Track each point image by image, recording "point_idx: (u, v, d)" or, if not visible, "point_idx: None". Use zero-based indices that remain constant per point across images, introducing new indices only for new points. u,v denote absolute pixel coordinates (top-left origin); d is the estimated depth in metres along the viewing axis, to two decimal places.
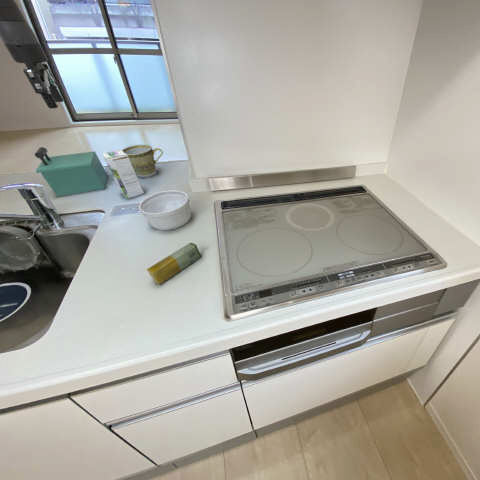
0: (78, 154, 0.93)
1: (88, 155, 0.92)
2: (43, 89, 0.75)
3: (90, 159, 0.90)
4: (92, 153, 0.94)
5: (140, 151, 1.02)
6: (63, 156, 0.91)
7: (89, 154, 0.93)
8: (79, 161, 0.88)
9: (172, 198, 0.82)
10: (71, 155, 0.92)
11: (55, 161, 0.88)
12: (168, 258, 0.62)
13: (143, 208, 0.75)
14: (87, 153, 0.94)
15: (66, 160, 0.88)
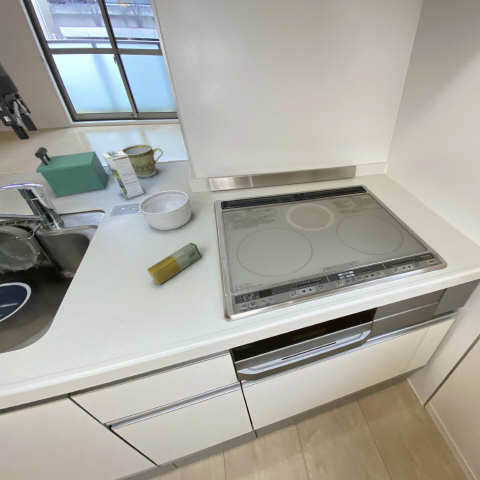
0: (78, 154, 0.93)
1: (88, 155, 0.92)
2: (12, 122, 0.73)
3: (90, 159, 0.90)
4: (92, 153, 0.94)
5: (140, 151, 1.02)
6: (63, 156, 0.91)
7: (89, 154, 0.93)
8: (79, 161, 0.88)
9: (172, 198, 0.82)
10: (71, 155, 0.92)
11: (55, 161, 0.88)
12: (168, 258, 0.62)
13: (143, 208, 0.75)
14: (87, 153, 0.94)
15: (66, 160, 0.88)
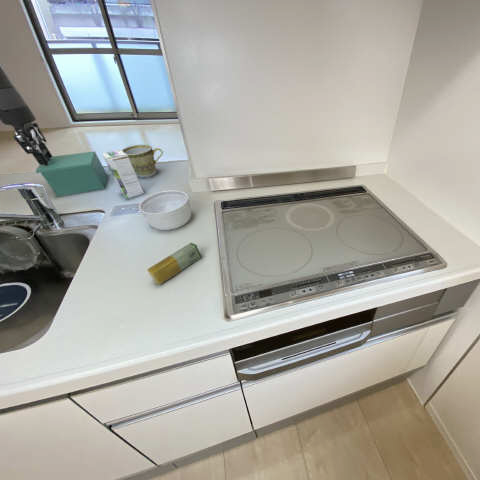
0: (78, 154, 0.93)
1: (88, 155, 0.92)
2: (34, 150, 0.79)
3: (90, 159, 0.90)
4: (92, 153, 0.94)
5: (140, 151, 1.02)
6: (63, 156, 0.91)
7: (89, 154, 0.93)
8: (79, 161, 0.88)
9: (172, 198, 0.82)
10: (71, 155, 0.92)
11: (55, 161, 0.88)
12: (168, 258, 0.62)
13: (143, 208, 0.75)
14: (87, 153, 0.94)
15: (66, 160, 0.88)
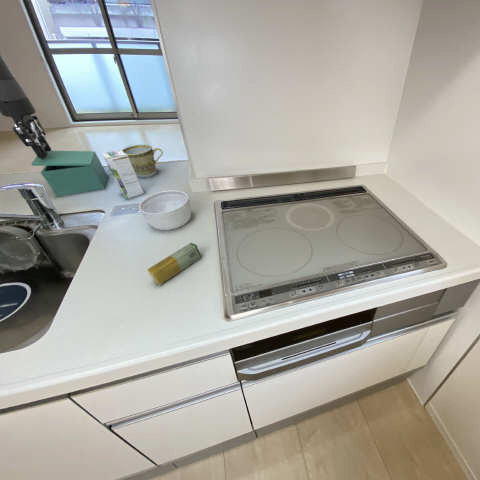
0: (77, 152, 0.92)
1: (88, 155, 0.92)
2: (33, 143, 0.78)
3: (90, 159, 0.90)
4: (92, 153, 0.94)
5: (140, 151, 1.02)
6: (61, 152, 0.90)
7: (89, 153, 0.93)
8: (79, 159, 0.88)
9: (172, 198, 0.82)
10: (69, 152, 0.91)
11: (53, 156, 0.87)
12: (168, 258, 0.62)
13: (143, 208, 0.75)
14: (87, 152, 0.94)
15: (64, 157, 0.88)
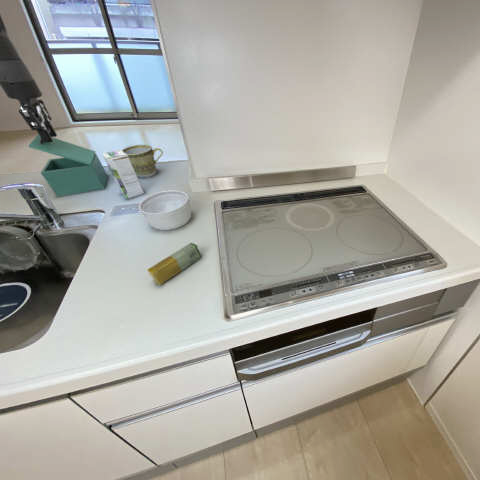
0: (77, 147, 0.91)
1: (89, 153, 0.92)
2: (39, 127, 0.77)
3: (91, 158, 0.90)
4: (93, 152, 0.94)
5: (140, 151, 1.02)
6: (61, 141, 0.89)
7: (90, 152, 0.93)
8: (79, 156, 0.88)
9: (172, 198, 0.82)
10: (69, 144, 0.90)
11: (52, 143, 0.85)
12: (169, 258, 0.62)
13: (143, 208, 0.75)
14: (87, 149, 0.93)
15: (64, 148, 0.86)
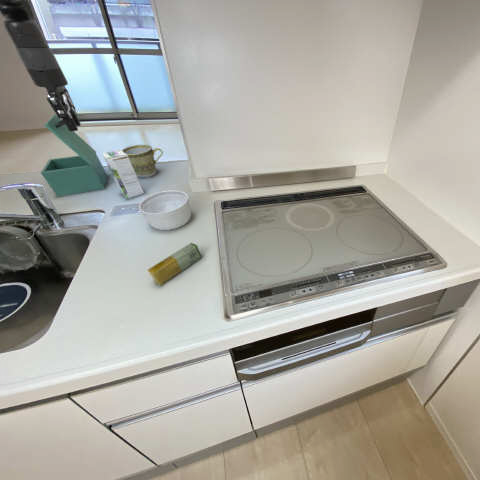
0: (83, 141, 0.91)
1: (91, 152, 0.92)
2: (66, 115, 0.78)
3: (92, 158, 0.90)
4: (94, 152, 0.94)
5: (140, 151, 1.02)
6: None
7: (92, 151, 0.93)
8: (84, 152, 0.87)
9: (172, 198, 0.82)
10: (77, 136, 0.90)
11: (64, 130, 0.84)
12: (169, 258, 0.62)
13: (143, 208, 0.75)
14: (90, 147, 0.93)
15: (73, 139, 0.86)
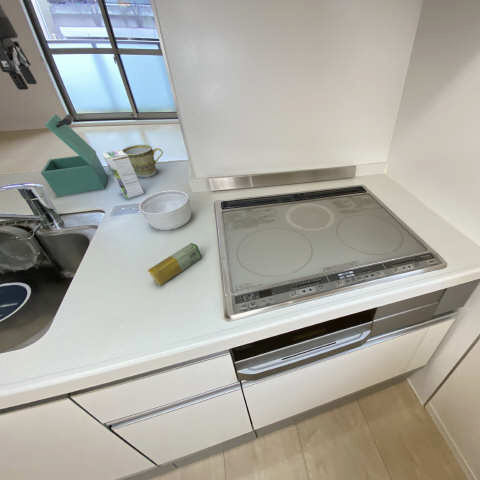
0: (83, 141, 0.91)
1: (91, 152, 0.92)
2: (10, 67, 0.69)
3: (92, 158, 0.90)
4: (94, 152, 0.94)
5: (140, 151, 1.02)
6: (71, 130, 0.88)
7: (92, 151, 0.93)
8: (84, 152, 0.87)
9: (172, 198, 0.82)
10: (77, 136, 0.90)
11: (64, 130, 0.84)
12: (169, 259, 0.62)
13: (143, 208, 0.75)
14: (90, 147, 0.93)
15: (73, 139, 0.86)
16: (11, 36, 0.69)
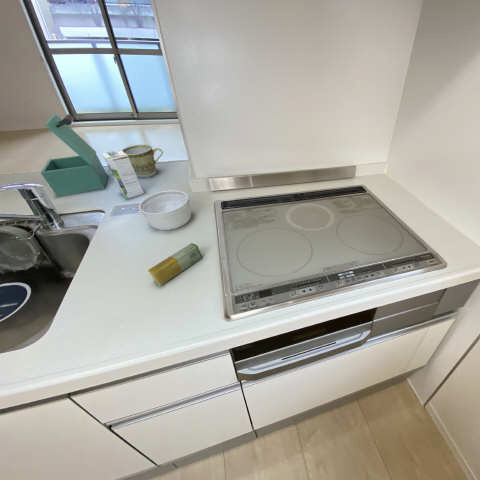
0: (83, 141, 0.91)
1: (91, 152, 0.92)
2: None
3: (92, 158, 0.90)
4: (94, 152, 0.94)
5: (140, 151, 1.02)
6: (71, 130, 0.88)
7: (92, 151, 0.93)
8: (84, 152, 0.87)
9: (172, 198, 0.82)
10: (77, 136, 0.90)
11: (64, 130, 0.84)
12: (169, 259, 0.62)
13: (143, 208, 0.75)
14: (90, 147, 0.93)
15: (73, 139, 0.86)
16: None
